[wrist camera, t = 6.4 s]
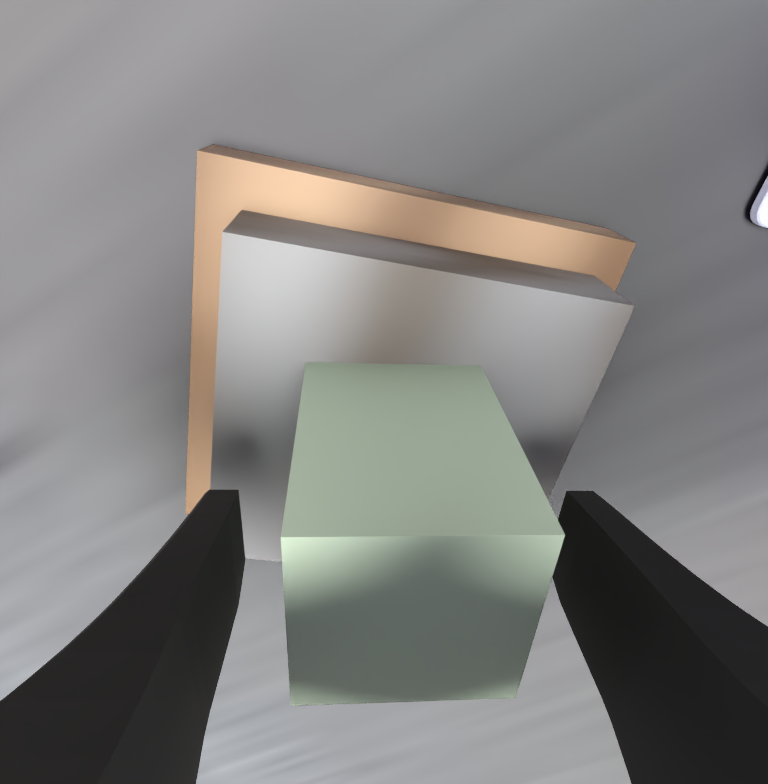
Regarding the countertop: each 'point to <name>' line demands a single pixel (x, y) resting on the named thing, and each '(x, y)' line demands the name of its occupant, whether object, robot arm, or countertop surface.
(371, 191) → the tower base
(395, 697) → the green block
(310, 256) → the tower top
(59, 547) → the countertop surface
